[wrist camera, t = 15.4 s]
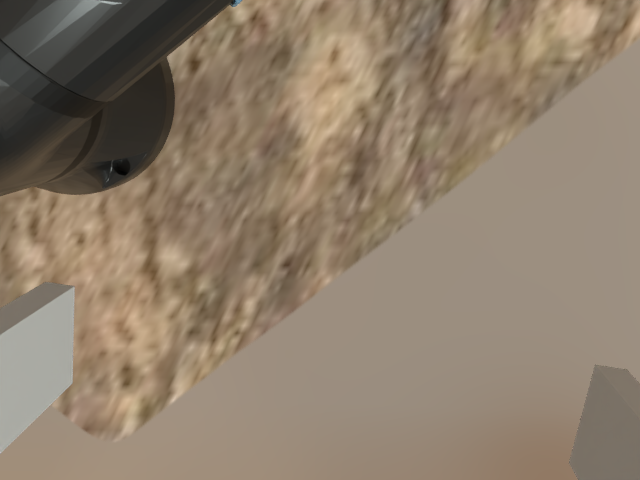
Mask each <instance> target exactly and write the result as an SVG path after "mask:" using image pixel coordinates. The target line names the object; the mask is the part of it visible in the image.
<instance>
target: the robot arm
mask: <svg viewBox="0 0 640 480" xmlns="http://www.w3.org/2000/svg"><path fill="white" fill-rule="evenodd" d="M241 1H242V0H0V196H2V195H6V194H9V193H13V192H16V191H19V190H23V189H26V188H30V187H33V186H34V187H37V188H41V189H44V190H48V191H51V192H55V193H61V194H69V195H82V194H92V193H97V192H102V191H105V190H108V189H111V188H114V187H116V186H119V185H121V184H124V183H126V182H128V181H130V180H131V179H133V178H135V177H136V176H138V175H139V174H140V173H142V172H143V171H144V170H145V169H146V168H147V167H148V166H149V165H150V164H151V163H152V162H153V161H154V160H155V158H156V157H157V156H158V154H159V153H160V151H161V149H162V148H163V146H164V144H165V142H166V140H167V137H168V135H169V132H170V129H171V125H172V121H173V115H174V104H175V95H174V84H173V78H172V74H171V70H170V67H169V64H168V61H167V58H166V57H167V56H168V55H169V54H170V53H172V52H173V51H174V50H175V49H176V48H178V47H179V46H180V45H181V44H183V43H184V42H185V41H186V40H187V39H189V38H190V37H191V36H192V35H193V34H195V33H196V32H197V31H198V30H200V29H201V28H202V27H203V26H204V25H206V24H207V23H208V22H209V21H210V20H212V19H213V18H214V17H215V16H217V15H218V14H219V13H220V12H221V11H223V10H224V9H225V8H226V7H227V6H229V5H231V6H232V7H235V6H237V5H238V4H239V3H240V2H241ZM74 288H75V286H70V285H63V284H56V283H50V282H45V283H43V284H41V285H39V286H38V287H36V288H34V289H33V290H31V291H29V292H27V293H26V294H24V295H22V296H21V297H19V298H17V299H15V300H14V301H12V302H10V303H9V304H7V305H5V306H3V307H2V308H0V453H1V452H2V451H3V450H5V449H6V448H7V446H9V444H11V443H12V442H13V441H14V440H15V439H16V438H17V437H18V436H19V435H20V434H21V433H22V432H23V431H24V430H25V429H26V428H27V427H28V426H29V425H30V424H31V423H32V422H33V421H34V420H35V419H36V418H37V417H38V416H39V415H40V414H41V413H42V412H44V411H45V409H47V408H48V407H49V406H50V405H51V404H52V403H53V402H54V401H55V400H56V399H57V398H58V397H59V396H60V395H61V394H62V393H63V392H64V391H65V390H66V389H67V388H68V387H69V386H70V385H71V384H72V379H73V334H74ZM569 463H570V465H571V467H572V469H573V471H574V473H575V475H576V477H577V478H578V480H640V383H639V382H638V381H637V380H636V379H635V378H634V377H633V376H632V375H631V374H630V372H629V371H628V370H626V369H619V368H613V367H607V366H599V365H595V367H594V371H593V374H592V378H591V382H590V386H589V390H588V393H587V397H586V401H585V405H584V408H583V412H582V416H581V419H580V423H579V427H578V431H577V435H576V438H575V442H574V446H573V449H572V454H571V457H570V461H569Z"/></svg>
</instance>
